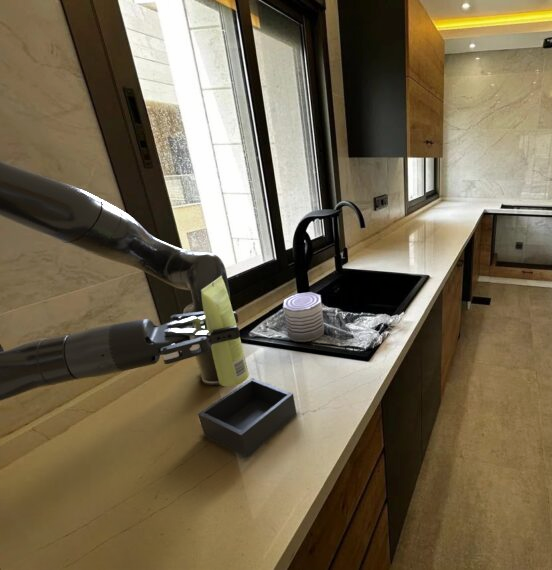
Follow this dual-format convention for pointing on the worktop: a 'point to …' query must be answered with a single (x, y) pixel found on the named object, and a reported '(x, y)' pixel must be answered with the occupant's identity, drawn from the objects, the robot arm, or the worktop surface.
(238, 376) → the tube
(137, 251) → the robot arm
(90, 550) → the worktop surface
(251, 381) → the tub
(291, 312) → the can
